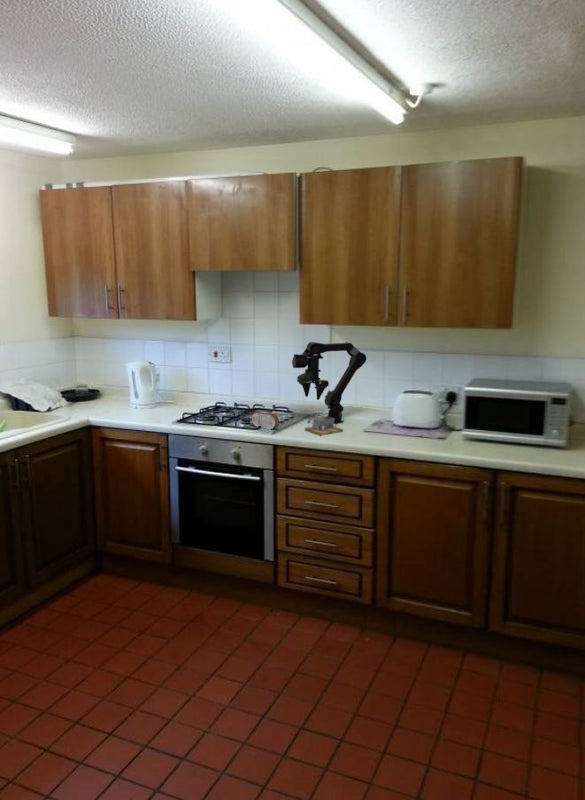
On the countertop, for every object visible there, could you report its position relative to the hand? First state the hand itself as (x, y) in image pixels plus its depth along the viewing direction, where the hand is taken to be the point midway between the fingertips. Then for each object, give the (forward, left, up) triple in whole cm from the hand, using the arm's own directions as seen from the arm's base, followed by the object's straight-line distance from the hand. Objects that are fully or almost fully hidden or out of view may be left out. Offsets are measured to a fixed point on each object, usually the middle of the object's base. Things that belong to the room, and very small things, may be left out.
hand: (312, 398), depth 323 cm
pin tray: (+5, +16, -13) cm, 21 cm away
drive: (+5, +16, -12) cm, 20 cm away
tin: (+26, -4, -13) cm, 29 cm away
